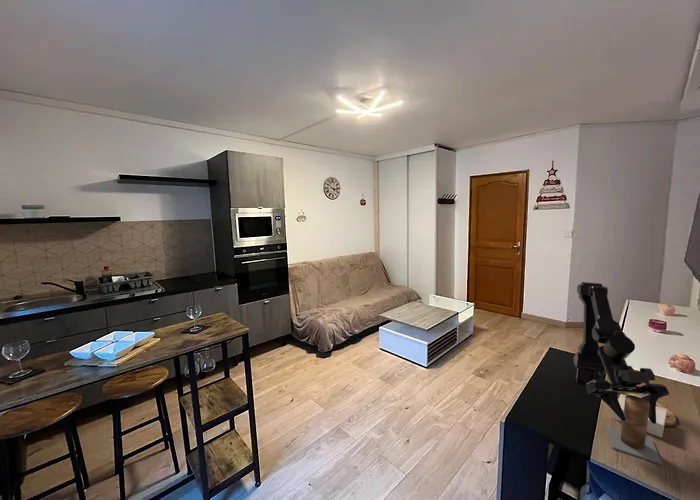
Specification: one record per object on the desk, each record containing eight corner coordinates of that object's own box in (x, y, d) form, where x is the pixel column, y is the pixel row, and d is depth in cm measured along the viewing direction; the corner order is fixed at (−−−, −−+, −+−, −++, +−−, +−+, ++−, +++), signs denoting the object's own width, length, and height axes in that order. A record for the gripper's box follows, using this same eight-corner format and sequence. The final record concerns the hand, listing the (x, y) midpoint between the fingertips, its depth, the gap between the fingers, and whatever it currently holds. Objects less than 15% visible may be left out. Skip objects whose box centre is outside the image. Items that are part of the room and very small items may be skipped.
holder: (612, 418, 97) (614, 407, 96) (619, 404, 104) (620, 393, 103) (661, 437, 88) (663, 425, 88) (665, 421, 95) (667, 409, 95)
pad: (612, 448, 85) (612, 446, 84) (606, 427, 93) (607, 425, 93) (661, 464, 79) (662, 463, 79) (651, 440, 87) (651, 439, 87)
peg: (622, 444, 85) (627, 402, 84) (619, 433, 89) (623, 393, 88) (646, 452, 82) (652, 408, 81) (642, 440, 87) (647, 399, 85)
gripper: (595, 354, 88) (618, 413, 79) (668, 358, 85) (701, 420, 76) (577, 365, 97) (595, 420, 87) (643, 370, 94) (669, 427, 84)
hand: (639, 422), depth 84 cm, fingers open, 7 cm apart
